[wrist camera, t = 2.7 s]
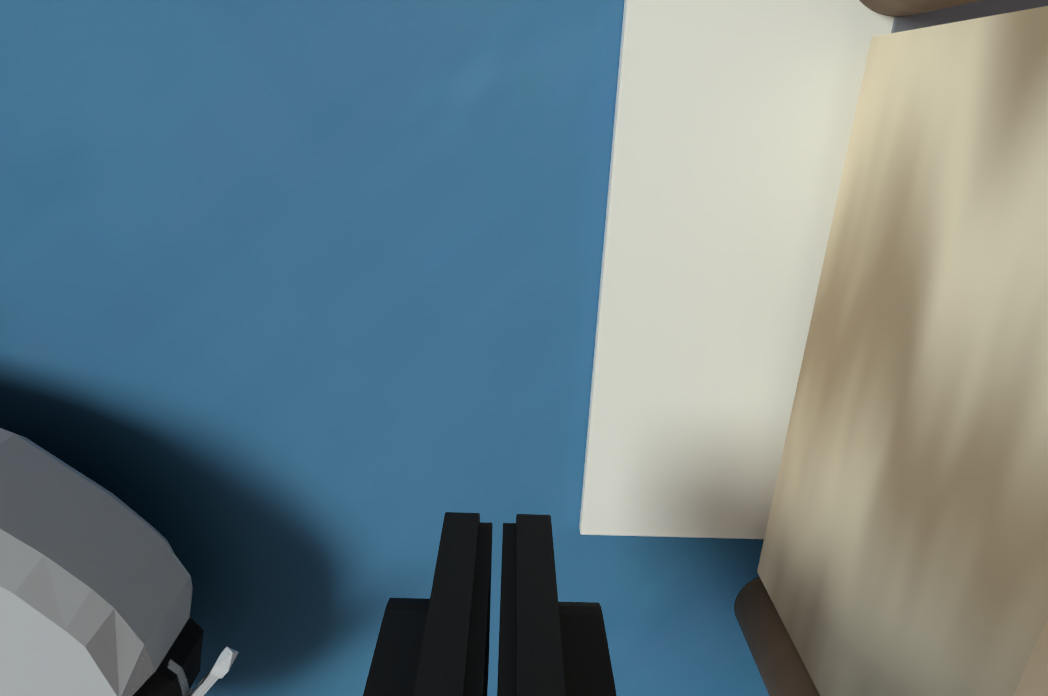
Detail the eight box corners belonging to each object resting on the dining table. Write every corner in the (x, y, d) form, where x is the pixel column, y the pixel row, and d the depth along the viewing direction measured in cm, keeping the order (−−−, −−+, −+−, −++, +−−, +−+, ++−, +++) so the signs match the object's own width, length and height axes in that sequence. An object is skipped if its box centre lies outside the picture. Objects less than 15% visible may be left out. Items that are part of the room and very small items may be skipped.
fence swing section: (849, 35, 12) (1283, -47, 5) (958, 41, 12) (1528, -35, 5) (728, 633, 17) (865, 978, 10) (804, 635, 17) (990, 980, 10)
